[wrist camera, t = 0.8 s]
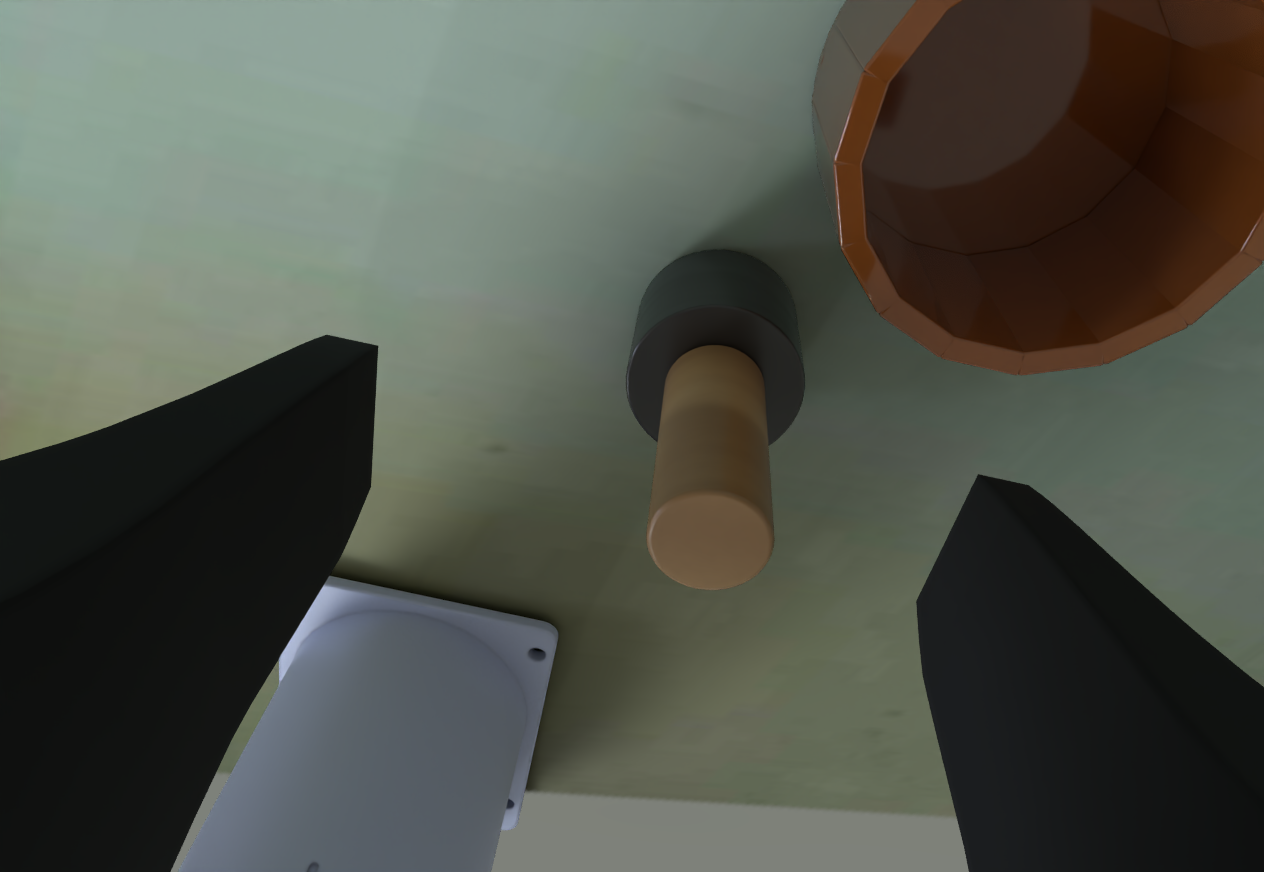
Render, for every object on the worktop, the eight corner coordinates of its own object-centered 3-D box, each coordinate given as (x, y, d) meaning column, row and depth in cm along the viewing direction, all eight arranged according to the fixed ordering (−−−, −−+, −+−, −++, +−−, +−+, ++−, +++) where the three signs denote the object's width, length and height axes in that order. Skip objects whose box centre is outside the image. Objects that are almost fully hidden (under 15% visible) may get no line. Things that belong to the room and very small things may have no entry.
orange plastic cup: (1081, 294, 20) (1174, 411, 16) (770, 223, 20) (781, 323, 16) (1259, -59, 16) (1444, -30, 12) (880, -151, 16) (933, -152, 12)
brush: (771, 406, 22) (788, 648, 15) (624, 374, 22) (577, 603, 15) (816, 269, 20) (859, 476, 14) (656, 232, 20) (618, 422, 13)
